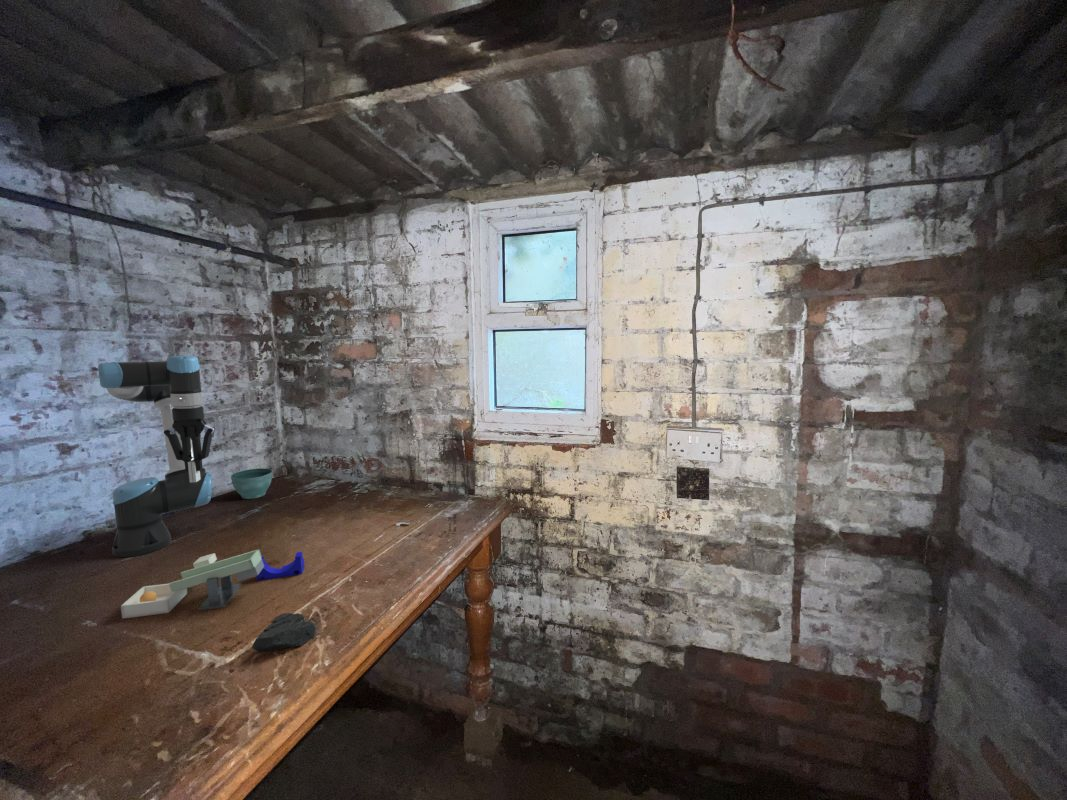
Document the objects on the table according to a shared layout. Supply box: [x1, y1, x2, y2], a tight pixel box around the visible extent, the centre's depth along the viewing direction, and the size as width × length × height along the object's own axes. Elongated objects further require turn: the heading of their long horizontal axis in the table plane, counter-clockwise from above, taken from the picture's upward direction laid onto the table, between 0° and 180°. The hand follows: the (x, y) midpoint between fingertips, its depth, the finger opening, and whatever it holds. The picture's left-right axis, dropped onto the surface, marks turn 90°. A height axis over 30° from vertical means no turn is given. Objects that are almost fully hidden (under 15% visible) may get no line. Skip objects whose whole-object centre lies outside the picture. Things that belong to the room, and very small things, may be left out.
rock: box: [251, 612, 316, 653], centre depth 101 cm, size 10×6×10 cm
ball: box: [139, 591, 157, 602], centre depth 115 cm, size 4×4×4 cm
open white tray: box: [120, 583, 188, 620], centre depth 116 cm, size 10×9×4 cm
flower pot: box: [230, 467, 273, 500], centre depth 199 cm, size 16×16×11 cm
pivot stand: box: [198, 575, 242, 611], centre depth 119 cm, size 6×11×8 cm, turn 14°
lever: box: [168, 549, 264, 592], centre depth 123 cm, size 20×14×5 cm
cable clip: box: [255, 551, 305, 581], centre depth 132 cm, size 12×4×6 cm, turn 108°
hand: (195, 480), depth 134 cm, fingers closed
